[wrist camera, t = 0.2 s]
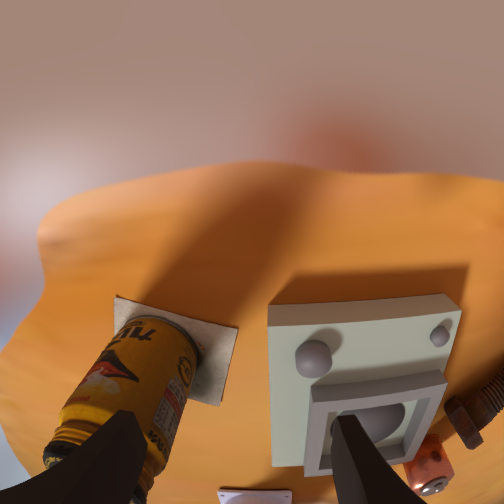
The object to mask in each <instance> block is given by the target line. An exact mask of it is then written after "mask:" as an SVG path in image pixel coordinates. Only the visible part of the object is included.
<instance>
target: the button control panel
mask: <svg viewBox="0 0 504 504" xmlns="http://www.w3.org/2000/svg"><path fill="white" fill-rule="evenodd" d="M461 312H462V310H461V309H460V308H459V307H458V306H457V305H456V304H455V303H454V302H453V301H452V300H451V299H450V298H449V297H448V296H447V295H446V294H445V293H443V294H433V295H423V296H412V297H401V298H389V299H376V300H362V301H346V302H329V303H309V304H285V305H268V323H267V329H268V355H269V383H270V414H271V448H272V467H285V466H304V477H312V476H324V475H333V473H332V462H331V450H330V449H331V444H332V439H333V434H334V428H335V423H336V417H337V416H343V415H351V414H354V415H356V416H357V418H358V420H359V422H360V423H361V425H362V427H363V428H364V430H365V431H366V433H367V435H368V436H369V438H370V439H371V441H372V442H373V444H374V445H375V447H376V448H377V449H378V451H379V452H380V453H381V455H382V456H383V457H384V459H385V460H386V461H387V463H388V464H389V465H390V466H391V465H396V464H400V463H405V462H409V461H413V459H414V457H415V455H416V453H417V451H418V449H419V447H420V445H421V443H422V441H423V439H424V437H425V435H426V433H427V431H428V429H429V427H430V425H431V423H432V420H433V418H434V416H435V414H436V411H437V409H438V407H439V404H440V402H441V400H442V397H443V395H444V392H445V390H446V387H447V384H448V382H447V380H446V379H445V377H444V376H443V374H444V371H445V368H446V365H447V362H448V359H449V355H450V352H451V349H452V346H453V342H454V339H455V335H456V332H457V328H458V324H459V320H460V316H461Z"/></svg>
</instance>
